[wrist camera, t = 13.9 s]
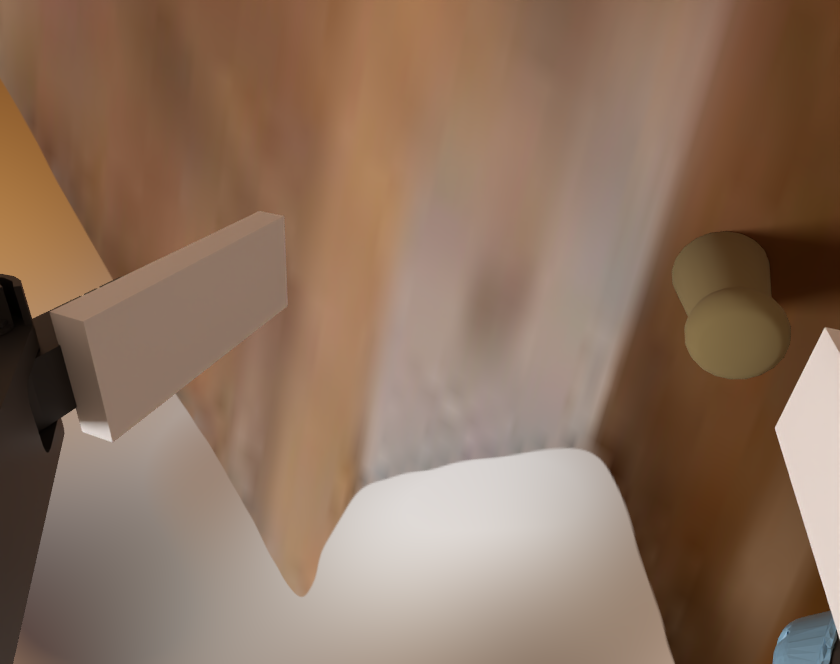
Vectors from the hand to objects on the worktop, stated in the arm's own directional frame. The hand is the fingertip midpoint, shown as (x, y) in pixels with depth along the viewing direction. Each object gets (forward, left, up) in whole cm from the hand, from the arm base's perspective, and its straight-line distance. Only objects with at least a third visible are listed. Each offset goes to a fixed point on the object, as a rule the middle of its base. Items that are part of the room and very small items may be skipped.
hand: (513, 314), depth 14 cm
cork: (-10, +8, -29) cm, 32 cm away
